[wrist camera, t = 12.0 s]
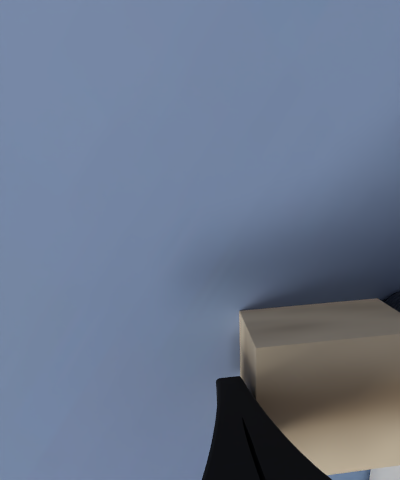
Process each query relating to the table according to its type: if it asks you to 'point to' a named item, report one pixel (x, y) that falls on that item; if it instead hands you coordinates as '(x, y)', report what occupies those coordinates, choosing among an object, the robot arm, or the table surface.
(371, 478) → the tray
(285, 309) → the maple block
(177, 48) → the table surface
